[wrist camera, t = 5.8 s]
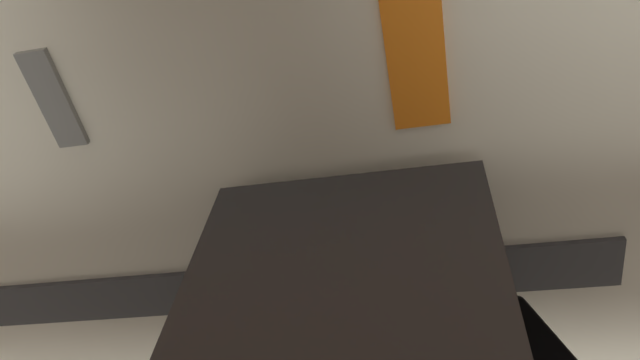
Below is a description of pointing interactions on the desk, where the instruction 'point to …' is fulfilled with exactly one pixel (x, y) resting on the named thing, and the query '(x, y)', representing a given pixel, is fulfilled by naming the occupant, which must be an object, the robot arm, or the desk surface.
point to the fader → (350, 272)
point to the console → (306, 145)
